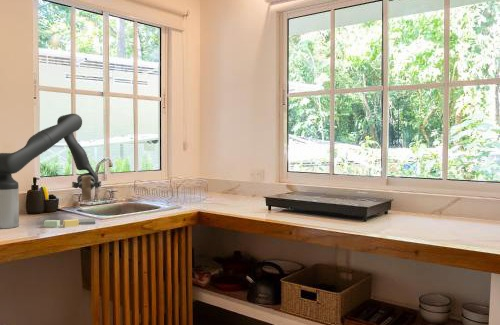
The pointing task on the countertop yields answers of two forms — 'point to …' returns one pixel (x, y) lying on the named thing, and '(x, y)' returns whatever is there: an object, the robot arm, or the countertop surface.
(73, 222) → the mustard brick
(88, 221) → the slate coaster
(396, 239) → the countertop surface
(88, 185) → the walnut post
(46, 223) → the sage brick
